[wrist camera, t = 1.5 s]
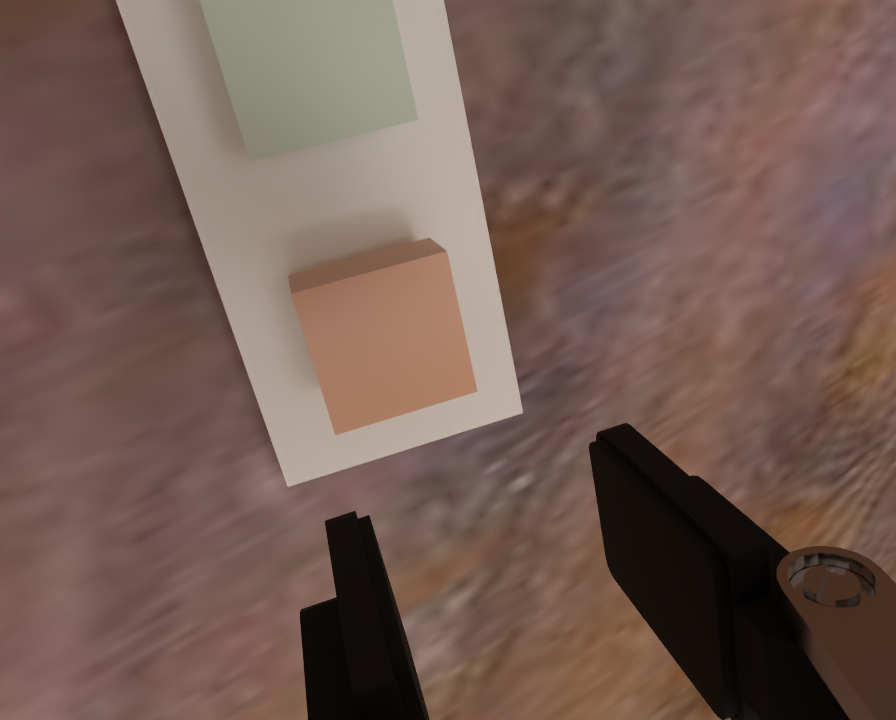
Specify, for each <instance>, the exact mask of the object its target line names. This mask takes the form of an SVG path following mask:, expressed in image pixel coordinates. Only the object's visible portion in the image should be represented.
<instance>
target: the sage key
mask: <svg viewBox="0 0 896 720" xmlns="http://www.w3.org/2000/svg"><path fill="white" fill-rule="evenodd" d="M200 3H201V7H202V10H203V13H204V16H205V19H206V23H207V26H208V29H209V32H210V35H211V39H212V42H213V45H214V48H215V52H216V55H217V58H218V61H219V64H220V68H221V71H222V74H223V77H224V80H225V84H226V87H227V90H228V93H229V96H230V100H231V103H232V106H233V109H234V112H235V116H236V119H237V122H238V125H239V128H240V132H241V135H242V138H243V141H244V144H245V148H246V151H247V154H248V157H249V160H250V161H252V160H256V159H260V158H264V157H268V156H272V155H276V154H280V153H285V152H289V151H293V150H297V149H301V148H305V147H309V146H313V145H318V144H322V143H326V142H330V141H334V140H338V139H342V138H346V137H351V136H355V135H359V134H363V133H367V132H371V131H375V130H379V129H384V128H388V127H392V126H396V125H400V124H404V123H408V122H412V121H417V120H418V115H417V111H416V106H415V101H414V97H413V92H412V88H411V83H410V78H409V74H408V69H407V65H406V60H405V55H404V51H403V46H402V42H401V37H400V32H399V28H398V23H397V19H396V14H395V9H394V5H393V0H200Z"/></svg>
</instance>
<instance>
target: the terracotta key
mask: <svg viewBox="0 0 896 720" xmlns="http://www.w3.org/2000/svg"><path fill="white" fill-rule="evenodd" d="M288 278H289V284H290V290H291V295H292V298H293V301H294V305H295V308H296V311H297V314H298V317H299V321H300V324H301V327H302V330H303V333H304V337H305V340H306V343H307V346H308V349H309V353H310V356H311V359H312V362H313V366H314V369H315V372H316V375H317V378H318V382H319V385H320V388H321V391H322V394H323V398H324V401H325V404H326V407H327V410H328V414H329V417H330V420H331V423H332V426H333V430H334V433H335V435H338V434H341V433H344V432H348V431H351V430H354V429H357V428H361V427H364V426H367V425H370V424H374V423H377V422H380V421H383V420H387V419H390V418H393V417H396V416H400V415H403V414H406V413H409V412H413V411H416V410H419V409H422V408H426V407H429V406H432V405H435V404H439V403H442V402H445V401H448V400H452V399H455V398H458V397H462V396H465V395H468V394H471V393H475V392H478V391H477V387H476V382H475V378H474V373H473V368H472V364H471V359H470V355H469V350H468V345H467V341H466V336H465V332H464V327H463V322H462V318H461V313H460V309H459V304H458V299H457V295H456V290H455V286H454V281H453V276H452V272H451V267H450V263H449V258H448V253H447V251H446V250H445V249H444V248H442V247H441V246H440V245H439V244H437V243H436V242H435V241H433V240H432V239H431V238H430V237H429V238H426V239H422V240H418V241H415V242H411V243H407V244H403V245H400V246H396V247H392V248H389V249H385V250H381V251H377V252H374V253H370V254H366V255H363V256H359V257H355V258H351V259H348V260H344V261H340V262H337V263H333V264H329V265H325V266H322V267H318V268H314V269H311V270H307V271H303V272H299V273H296V274H292V275H288Z"/></svg>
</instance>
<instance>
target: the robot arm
mask: <svg viewBox="0 0 896 720" xmlns="http://www.w3.org/2000/svg"><path fill="white" fill-rule="evenodd" d="M589 452H590V459H591V465H592V472H593V478H594V484H595V491H596V497H597V504H598V510H599V517H600V523H601V530H602V536H603V543H604V549H605V556H606V561H607V564H608V567H609V570H610V572H611V574H612V576H613V578H614V579H615V581H616V582H617V583H618V585H619V586H620V587H621V589H622V590H623V591H624V593H625V594H626V595H627V597H628V598H629V599H630V601H631V602H632V603H633V605H634V606H635V607H636V609H637V610H638V611H639V613H640V614H641V615H642V617H643V618H644V619H645V621H646V622H647V623H648V625H649V626H650V627H651V629H652V630H653V631H654V633H655V634H656V635H657V637H658V638H659V639H660V641H661V642H662V643H663V645H664V646H665V647H666V649H667V650H668V651H669V653H670V654H671V655H672V657H673V658H674V659H675V661H676V662H677V663H678V665H679V666H680V667H681V669H682V670H683V671H684V673H685V674H686V675H687V677H688V678H689V679H690V681H691V682H692V683H693V685H694V686H695V687H696V689H697V690H698V691H699V693H700V694H701V695H702V697H703V698H704V699H705V701H706V702H707V703H708V705H709V706H710V707H711V709H712V710H713V711H714V713H715V714H716V715H717V716H718V717H719V718H720V719H722V720H725V719H727V718H731V720H896V583H895V582H894V581H893V580H892V579H891V578H890V577H889V576H888V575H887V574H886V573H885V572H884V571H883V570H882V569H881V568H880V567H879V566H878V565H876V564H875V563H874V562H873V561H871V560H870V559H868V558H866V557H864V556H862V555H860V554H858V553H856V552H853V551H850V550H846V549H842V548H838V547H828V546H815V547H805V548H802V549H799V550H796V551H793V552H791V553H790V552H788V551H787V550H786V549H785V548H784V547H782V546H781V545H780V544H779V543H778V542H777V541H775V540H774V539H773V538H772V537H771V536H769V535H768V534H767V533H766V532H765V531H764V530H762V529H761V528H760V527H759V526H758V525H756V524H755V523H754V522H753V521H752V520H751V519H749V518H748V517H747V516H746V515H745V514H743V513H742V512H741V511H740V510H739V509H737V508H736V507H735V506H734V505H733V504H732V503H730V502H729V501H728V500H727V499H726V498H724V497H723V496H722V495H721V494H720V493H719V492H717V491H716V490H715V489H714V488H713V487H711V486H710V485H709V484H708V483H707V482H705V481H704V480H703V479H701V478H700V477H698V476H689V475H688V474H686V473H685V472H684V471H683V470H682V469H681V468H679V467H678V466H677V465H676V464H675V463H674V462H672V461H671V460H670V459H669V458H668V457H667V456H666V455H664V454H663V453H662V452H661V451H660V450H659V449H657V448H656V447H655V446H654V445H653V444H652V443H650V442H649V441H648V440H647V439H646V438H645V437H644V436H642V435H641V434H640V433H639V432H638V431H637V430H635V429H634V428H633V427H632V426H631V425H629V424H628V423H624V424H621V425H618V426H615V427H612V428H609V429H606V430H603V431H600V432H598V433H597V436H596V441H594V442H591V443H590V444H589ZM325 526H326V532H327V538H328V545H329V551H330V557H331V564H332V570H333V577H334V583H335V589H336V596H337V597H336V598H333V599H330V600H327V601H324V602H322V603H319V604H316V605H313V606H310V607H307V608H304V609H301V611H300V623H301V636H302V648H303V661H304V673H305V686H306V699H307V711H308V720H429V716H428V712H427V709H426V705H425V701H424V698H423V694H422V691H421V687H420V683H419V680H418V676H417V673H416V669H415V665H414V662H413V658H412V655H411V651H410V647H409V644H408V641H407V637H406V634H405V630H404V627H403V624H402V621H401V617H400V614H399V611H398V608H397V604H396V601H395V598H394V594H393V591H392V588H391V585H390V581H389V578H388V575H387V572H386V568H385V565H384V562H383V559H382V555H381V552H380V549H379V545H378V542H377V539H376V536H375V532H374V529H373V526H372V523H371V519H370V516H369V515H368V516H365V517H362V518H359V519H358V518H357V515H356V512H355V511H354V512H350V513H347V514H344V515H341V516H338V517H335V518H332V519H329V520H326V521H325Z"/></svg>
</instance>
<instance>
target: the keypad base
mask: <svg viewBox="0 0 896 720" xmlns="http://www.w3.org/2000/svg"><path fill="white" fill-rule="evenodd" d="M116 2H117V5H118V8H119V11H120V14H121V16H122V19H123V22H124V25H125V28H126V31H127V33H128V36H129V39H130V42H131V45H132V48H133V50H134V53H135V56H136V59H137V62H138V65H139V67H140V70H141V73H142V76H143V79H144V82H145V84H146V87H147V90H148V93H149V96H150V99H151V101H152V104H153V107H154V110H155V113H156V115H157V118H158V121H159V124H160V127H161V130H162V132H163V135H164V138H165V141H166V144H167V147H168V149H169V152H170V155H171V158H172V161H173V164H174V166H175V169H176V172H177V175H178V178H179V181H180V183H181V186H182V189H183V192H184V195H185V198H186V200H187V203H188V206H189V209H190V212H191V215H192V217H193V220H194V223H195V226H196V229H197V232H198V234H199V237H200V240H201V243H202V246H203V249H204V251H205V254H206V257H207V260H208V263H209V266H210V268H211V271H212V274H213V277H214V280H215V283H216V285H217V288H218V291H219V294H220V297H221V299H222V302H223V305H224V308H225V311H226V314H227V316H228V319H229V322H230V325H231V328H232V331H233V333H234V336H235V339H236V342H237V345H238V348H239V350H240V353H241V356H242V359H243V362H244V365H245V367H246V370H247V373H248V376H249V379H250V382H251V384H252V387H253V390H254V393H255V396H256V399H257V401H258V404H259V407H260V410H261V413H262V416H263V418H264V421H265V424H266V427H267V430H268V433H269V435H270V438H271V441H272V444H273V447H274V450H275V452H276V455H277V458H278V461H279V464H280V467H281V469H282V472H283V475H284V478H285V481H286V483H287V486H288V487H290V486H293V485H296V484H299V483H302V482H306V481H309V480H312V479H315V478H318V477H322V476H325V475H328V474H331V473H334V472H337V471H341V470H344V469H347V468H350V467H353V466H356V465H360V464H363V463H366V462H369V461H372V460H375V459H379V458H382V457H385V456H388V455H391V454H394V453H398V452H401V451H404V450H407V449H410V448H413V447H417V446H420V445H423V444H426V443H429V442H433V441H436V440H439V439H442V438H445V437H448V436H452V435H455V434H458V433H461V432H464V431H467V430H471V429H474V428H477V427H480V426H483V425H486V424H490V423H493V422H496V421H499V420H502V419H505V418H509V417H512V416H515V415H518V414H521V413H523V410H522V405H521V400H520V394H519V389H518V384H517V379H516V374H515V368H514V363H513V358H512V353H511V348H510V342H509V337H508V332H507V327H506V322H505V316H504V311H503V306H502V301H501V296H500V290H499V285H498V280H497V275H496V269H495V264H494V259H493V254H492V249H491V243H490V238H489V233H488V228H487V223H486V217H485V212H484V207H483V202H482V197H481V191H480V186H479V181H478V176H477V171H476V165H475V160H474V155H473V150H472V145H471V139H470V134H469V129H468V124H467V118H466V113H465V108H464V103H463V98H462V92H461V87H460V82H459V77H458V72H457V66H456V61H455V56H454V51H453V46H452V40H451V35H450V30H449V25H448V20H447V14H446V9H445V4H444V0H393V5H394V9H395V14H396V19H397V23H398V28H399V32H400V37H401V42H402V46H403V51H404V55H405V60H406V65H407V69H408V74H409V78H410V83H411V88H412V92H413V97H414V101H415V106H416V111H417V115H418V120H417V121H412V122H408V123H404V124H400V125H396V126H392V127H388V128H384V129H379V130H375V131H371V132H367V133H363V134H359V135H355V136H351V137H346V138H342V139H338V140H334V141H330V142H326V143H322V144H318V145H313V146H309V147H305V148H301V149H297V150H293V151H289V152H285V153H280V154H276V155H272V156H268V157H264V158H260V159H256V160H252V161H250V160H249V157H248V154H247V151H246V148H245V144H244V141H243V138H242V135H241V132H240V128H239V125H238V122H237V119H236V116H235V112H234V109H233V106H232V103H231V100H230V96H229V93H228V90H227V87H226V84H225V80H224V77H223V74H222V71H221V68H220V64H219V61H218V58H217V55H216V52H215V48H214V45H213V42H212V39H211V35H210V32H209V29H208V26H207V23H206V19H205V16H204V13H203V10H202V7H201V3H200V0H116ZM429 237H430V238H431V239H432V240H433V241H435V242H436V243H437V244H439V245H440V246H441V247H442V248H444V249H445V250H446V251H447V253H448V258H449V263H450V267H451V272H452V276H453V281H454V286H455V290H456V295H457V299H458V304H459V309H460V313H461V318H462V322H463V327H464V332H465V336H466V341H467V345H468V350H469V355H470V359H471V364H472V368H473V373H474V378H475V382H476V387H477V391H478V392H475V393H471V394H468V395H465V396H462V397H458V398H455V399H452V400H448V401H445V402H442V403H439V404H435V405H432V406H429V407H426V408H422V409H419V410H416V411H413V412H409V413H406V414H403V415H400V416H396V417H393V418H390V419H387V420H383V421H380V422H377V423H374V424H370V425H367V426H364V427H361V428H357V429H354V430H351V431H348V432H344V433H341V434H338V435H335V433H334V430H333V426H332V423H331V420H330V417H329V414H328V410H327V407H326V404H325V401H324V398H323V394H322V391H321V388H320V385H319V382H318V378H317V375H316V372H315V369H314V366H313V362H312V359H311V356H310V353H309V349H308V346H307V343H306V340H305V337H304V333H303V330H302V327H301V324H300V321H299V317H298V314H297V311H296V308H295V305H294V301H293V298H292V295H291V290H290V284H289V278H288V275H292V274H296V273H299V272H303V271H307V270H311V269H314V268H318V267H322V266H325V265H329V264H333V263H337V262H340V261H344V260H348V259H351V258H355V257H359V256H363V255H366V254H370V253H374V252H377V251H381V250H385V249H389V248H392V247H396V246H400V245H403V244H407V243H411V242H415V241H418V240H422V239H426V238H429Z"/></svg>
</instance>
